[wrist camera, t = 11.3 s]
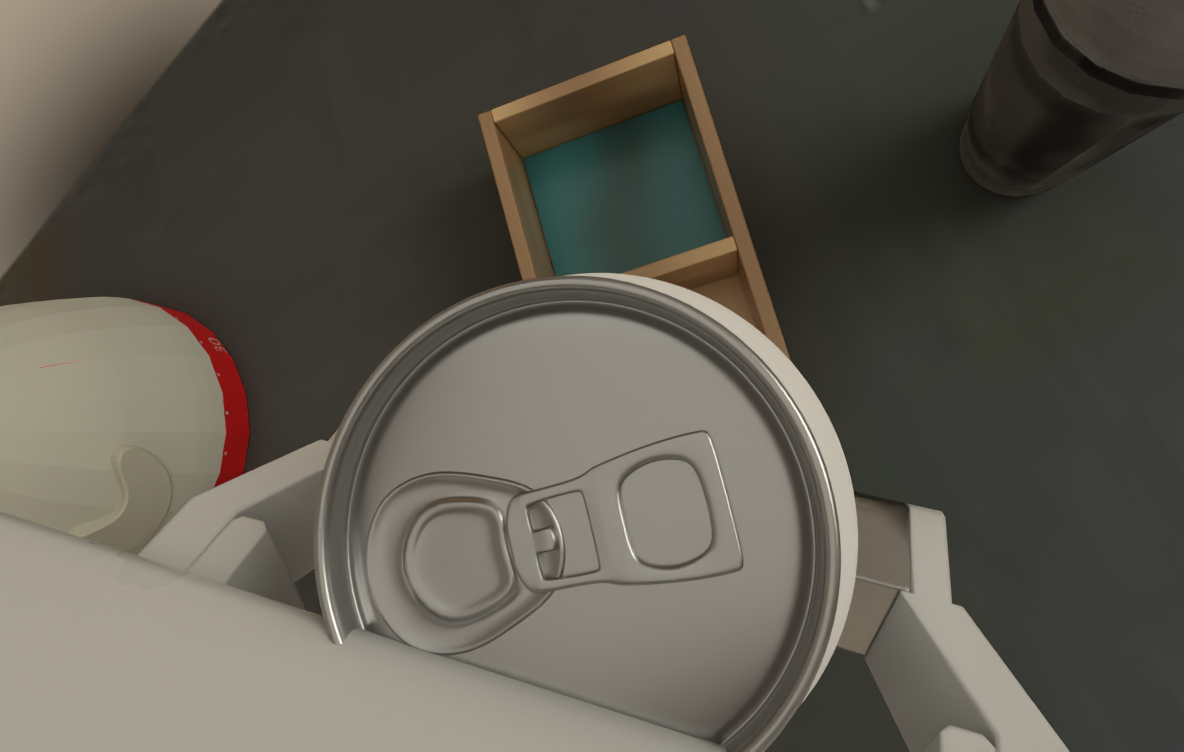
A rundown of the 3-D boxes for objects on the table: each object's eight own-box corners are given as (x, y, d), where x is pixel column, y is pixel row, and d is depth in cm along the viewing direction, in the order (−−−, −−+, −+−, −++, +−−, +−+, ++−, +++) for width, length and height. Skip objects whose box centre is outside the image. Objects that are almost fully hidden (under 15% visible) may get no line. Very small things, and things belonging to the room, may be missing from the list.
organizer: (693, 89, 32) (684, 33, 28) (811, 458, 30) (823, 461, 25) (512, 157, 34) (476, 114, 30) (610, 512, 32) (588, 525, 27)
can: (531, 393, 20) (233, 326, 8) (758, 332, 19) (784, 154, 7) (584, 625, 19) (335, 916, 7) (826, 575, 18) (983, 828, 6)
